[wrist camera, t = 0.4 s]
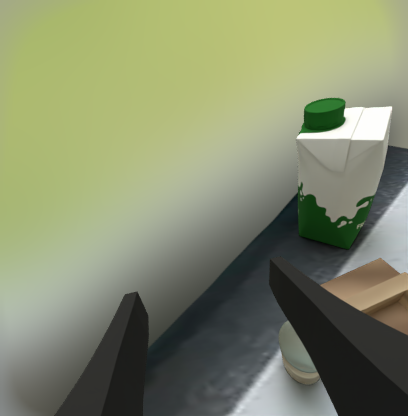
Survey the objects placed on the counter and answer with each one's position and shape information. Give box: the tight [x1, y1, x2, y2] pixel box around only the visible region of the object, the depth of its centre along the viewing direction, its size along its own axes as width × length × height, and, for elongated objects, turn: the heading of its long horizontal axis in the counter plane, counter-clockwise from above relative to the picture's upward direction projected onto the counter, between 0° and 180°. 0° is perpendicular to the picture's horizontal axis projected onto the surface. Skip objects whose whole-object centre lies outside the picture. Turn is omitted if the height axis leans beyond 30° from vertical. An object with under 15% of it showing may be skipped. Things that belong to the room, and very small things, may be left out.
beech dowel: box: [279, 321, 320, 385], centre depth 21 cm, size 4×4×7 cm
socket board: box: [320, 258, 408, 335], centre depth 20 cm, size 16×12×4 cm
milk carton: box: [296, 98, 392, 250], centre depth 28 cm, size 9×9×20 cm
